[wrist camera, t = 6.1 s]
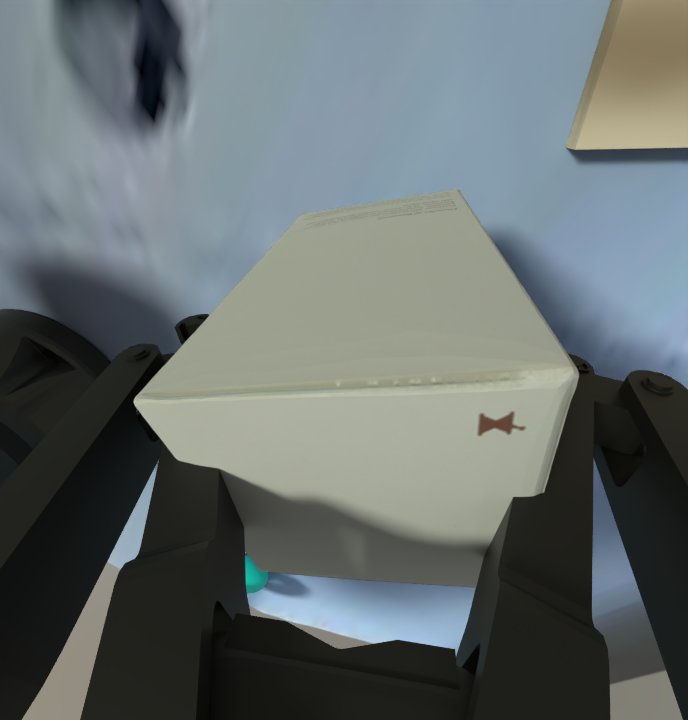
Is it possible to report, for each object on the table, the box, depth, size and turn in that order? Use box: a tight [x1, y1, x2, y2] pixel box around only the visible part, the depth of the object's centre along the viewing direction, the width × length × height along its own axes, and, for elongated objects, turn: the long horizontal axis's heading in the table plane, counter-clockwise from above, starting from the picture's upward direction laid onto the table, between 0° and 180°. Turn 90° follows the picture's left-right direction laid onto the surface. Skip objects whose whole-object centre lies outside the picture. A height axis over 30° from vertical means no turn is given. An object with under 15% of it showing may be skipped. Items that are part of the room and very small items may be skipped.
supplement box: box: [134, 189, 579, 587], centre depth 12 cm, size 7×7×13 cm
